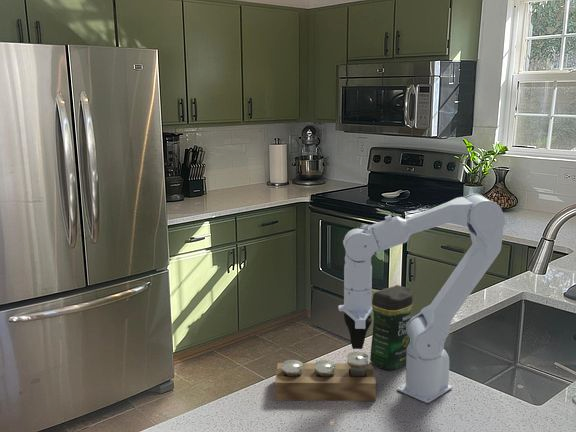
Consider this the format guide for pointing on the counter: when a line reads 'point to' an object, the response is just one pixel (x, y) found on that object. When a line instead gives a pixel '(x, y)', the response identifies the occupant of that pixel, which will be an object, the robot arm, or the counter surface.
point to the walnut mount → (326, 385)
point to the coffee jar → (390, 327)
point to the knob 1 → (292, 368)
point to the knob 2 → (357, 363)
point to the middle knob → (324, 368)
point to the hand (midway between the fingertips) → (357, 347)
